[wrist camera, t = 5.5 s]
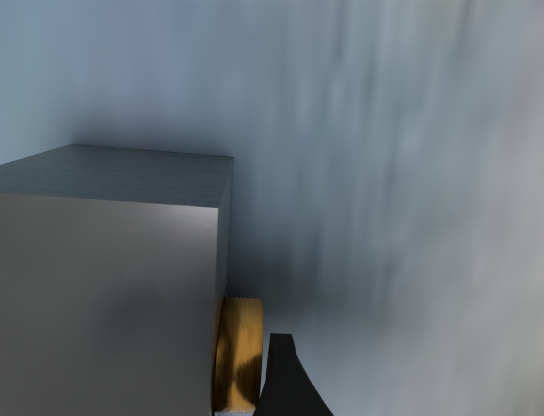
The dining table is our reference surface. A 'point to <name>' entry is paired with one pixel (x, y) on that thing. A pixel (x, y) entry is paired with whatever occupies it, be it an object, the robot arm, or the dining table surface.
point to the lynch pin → (238, 356)
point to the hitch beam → (112, 281)
